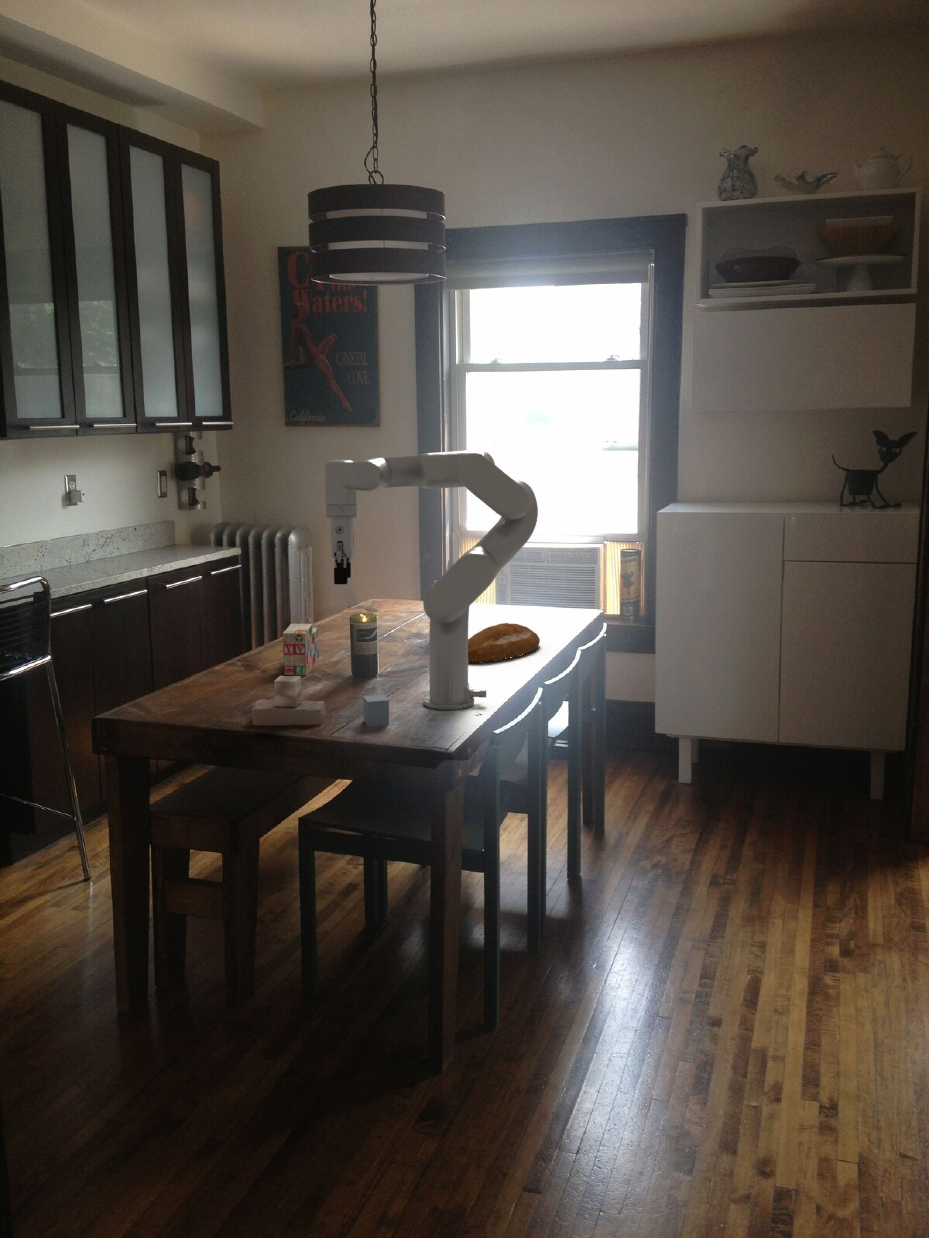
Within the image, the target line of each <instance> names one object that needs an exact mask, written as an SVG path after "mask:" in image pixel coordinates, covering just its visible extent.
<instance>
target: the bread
mask: <svg viewBox="0 0 929 1238" xmlns="http://www.w3.org/2000/svg"><path fill="white" fill-rule="evenodd" d="M540 641H541V639H540V637H539V635H538V634H537V633H536V632H535V631H534V630H532V628H529V627H528V626H525V625H522V624H519V623H518V624H517V623H508V622H504V623H498V624H496V625H491V626H488V627H485V628H483V629H481V630H480V631H478V632H476V633H475V634H473V635H472V636H471V637H468V663H472V662H483V663H488V662H487V661H492V662H495V661H494V660H498V661H501V660H500V659H504V660H506V659H505V658H510V657H515V658H517V657H516V656H518V657H520V656H519V655H522V654H524V655H525V653H526V654H528V653H530V652H532V651H534V650H535V649H537V648H538V647H539V645H540ZM522 656H523V655H522ZM510 659H511V658H510Z"/></svg>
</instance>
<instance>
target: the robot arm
mask: <svg viewBox="0 0 929 1238" xmlns="http://www.w3.org/2000/svg"><path fill="white" fill-rule="evenodd" d="M401 487H405V488H409V487H417V488H421V489H424V490H425V489H426V490H434V489H435V490H436V489H449V488H450V489H451V488H465V489H467V490H468V491H469V492H470V493H472V495H474V496H475V497H476V498H477V499H479V500H480V501H482V503H483V504H485V505H486V506H487V507H489V508H490V509H491V511H493V512H495V513H496V514H497V515H499V516H500V518H499V520H498V521H497V522H496V523H495V524H494V526H493V527H492V528H490V530H489V531H488V532H487V533H486V534H485V535H484V536H483V537H482V538H481V539H480V540H479V541H478V542H477V543H476V544H475V545H474V546H472V547H471V548H470V549H468V550H467V551H466V552H464V553H463V554H462V555H461V556H460V557H459V558H457V560H456V561H455V562H454V563H453V565H452V566H450V568H449V569H448V570H447V571H446V572H445V573H443V575H442V576H441V577H439V579H438V580H437V581H435V582H434V583H433V584H432V585H431V586H430V587H429V588H428V589H427V591H426V592H425V594H424V597H423V601H422V603H423V604H422V605H423V610H424V612H425V614H426V616H427V617H428V618H429V632H428V635H429V641H428V646H429V647H428V648H429V649H428V654H429V655H428V656H429V661H428V662H429V663H428V664H429V666H428V667H429V672H428V673H429V694H428V695H427V696H425V697H424V698H423V699H422V700H423V702H422V703H423V705H424V706H425V707H428V708H429V709H432V710H433V709H434V710H442V711H444V710H445V711H455V710H463V708H464V709H467V708H470V707H472V706H474V704H475V698H487V689H482V688H481V687H478V688H477V687H476V688H473V687H470V683H469V662H468V639H469V621H470V620H469V616H470V606H471V605H473V603H474V602H475V601H476V600H478V598H479V597H480V596H482V594H483V593H484V592H485V591H486V590H487V589H488V588H489V587H490V586H491V585H492V584H493V582H494V581H495V579H496V577H497V576H498V574H499V573H500V572H501V571H502V569H503V568H504V567H505V566H506V565H507V564H509V562H510V561H512V559H513V558H514V557H515V556H516V555H517V553H518V552H520V551H521V549H522V548H523V547H524V546H525V545H526V543H528V542H529V540H530V538H531V536H533V535H532V534H533V533H534V530H535V529H536V526H537V522H538V515H539V509H538V502H537V501H538V500H537V498H536V494H535V492H534V490H533V488H532V487H531V486H530V485H529V484H528V483H526V482H525V481H522V480H520V479H519V480H517V479H516V480H514V478H512V477H510V475H508V474H507V473H505V471H504V470H502V469H500V468H499V466H497V465H496V462H495V460H494V458H493V457H492V455H491V454H490V453H489V452H487V451H484V450H482V449H471V450H458V451H443V452H428V453H421V454H415V455H404V456H389V457H388V456H387V457H375V458H370V459H369V458H368V459H365V460H360V461H359V460H358V461H354V460H350V459H332V460H328V461H326V463H325V464H324V495H325V498H324V499H325V502H324V503H325V505H324V506H325V518H327V519H330V544H331V547H330V548H331V557H332V558H333V560H334V561H333V563H334V567H333V584H334V585H347V584H348V579H350V578H351V576H352V567H351V565H352V563H351V561H350V560H351V559H352V558H354V556H355V553H356V551H355V532H354V531H355V530H354V528H355V527H354V519H355V518H357V517H358V515H357V514H358V511H357V510H358V509H357V507H358V505H357V501H358V500H357V491H361V492H366V493H367V492H368V493H369V492H375V491H377V490H380V489H385V488H386V489H389V488H401Z"/></svg>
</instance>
